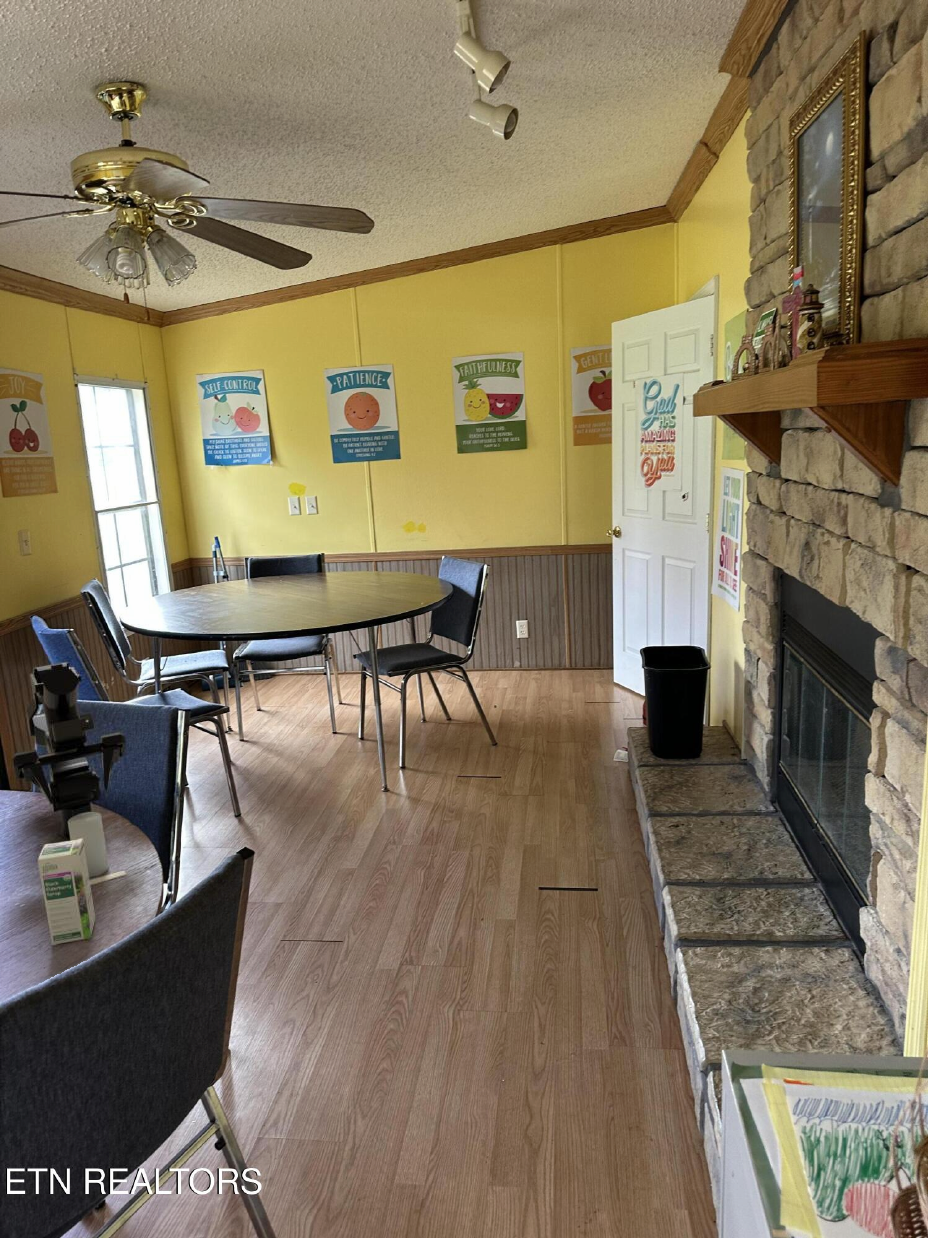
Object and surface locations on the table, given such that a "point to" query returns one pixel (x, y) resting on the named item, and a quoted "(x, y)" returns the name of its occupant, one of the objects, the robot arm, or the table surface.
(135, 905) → the table surface
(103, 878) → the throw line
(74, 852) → the syrup box
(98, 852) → the grey-green rounded cylinder
